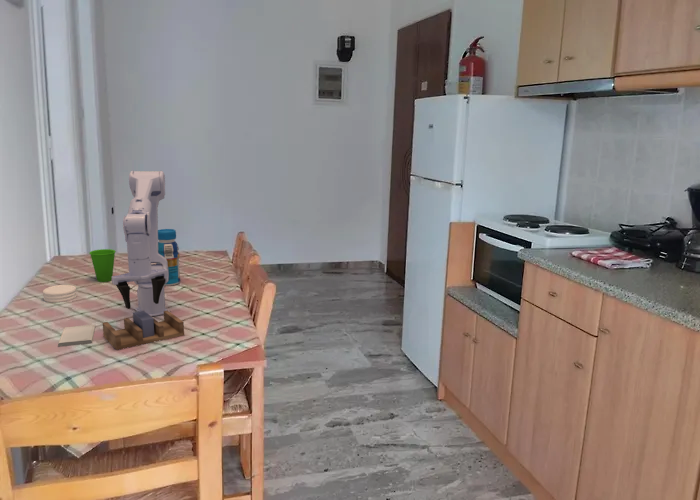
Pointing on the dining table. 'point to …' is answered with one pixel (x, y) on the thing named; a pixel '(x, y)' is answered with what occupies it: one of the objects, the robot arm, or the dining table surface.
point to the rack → (135, 335)
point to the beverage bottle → (169, 254)
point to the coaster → (59, 293)
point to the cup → (103, 264)
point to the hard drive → (77, 335)
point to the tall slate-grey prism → (144, 323)
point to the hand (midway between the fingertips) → (142, 305)
